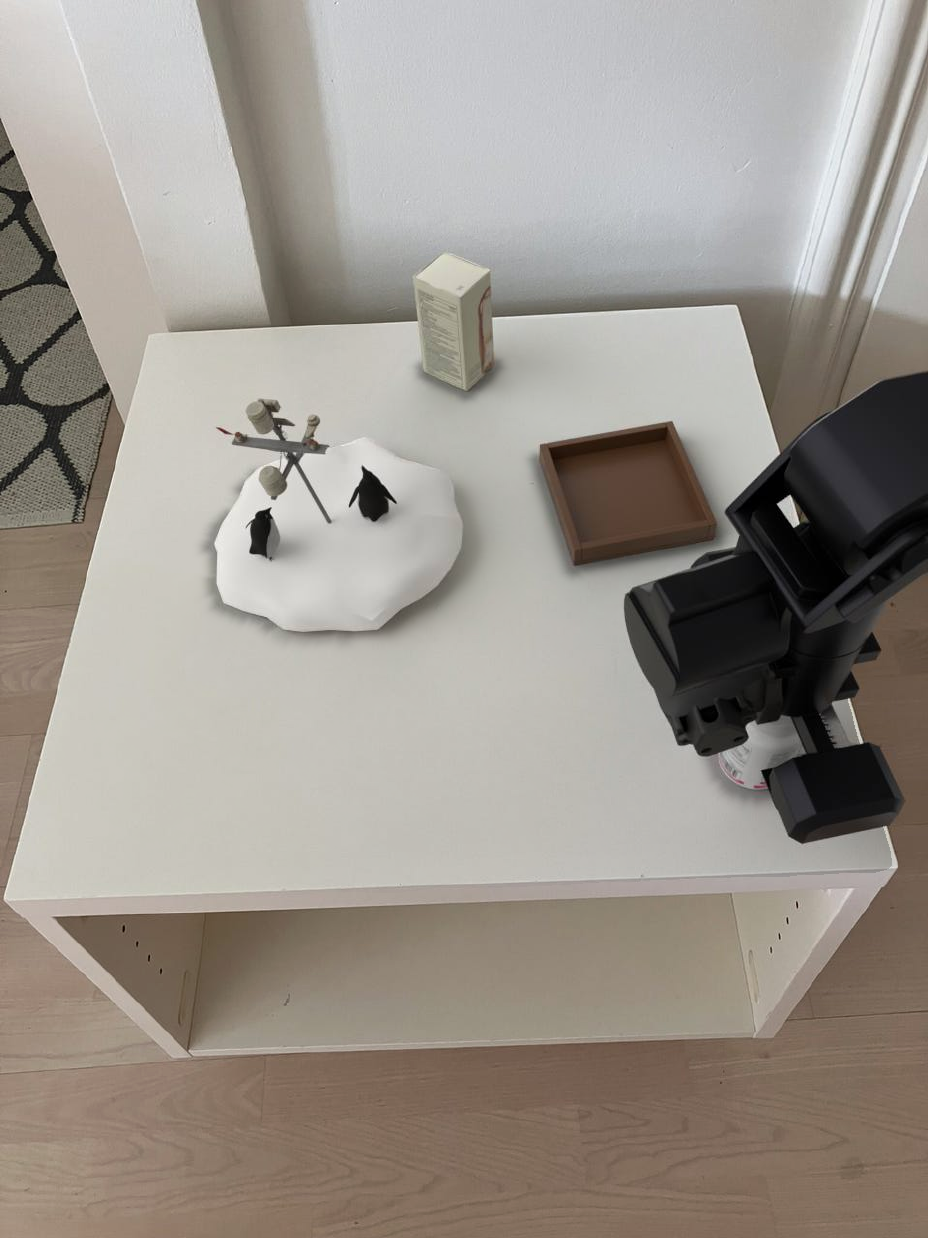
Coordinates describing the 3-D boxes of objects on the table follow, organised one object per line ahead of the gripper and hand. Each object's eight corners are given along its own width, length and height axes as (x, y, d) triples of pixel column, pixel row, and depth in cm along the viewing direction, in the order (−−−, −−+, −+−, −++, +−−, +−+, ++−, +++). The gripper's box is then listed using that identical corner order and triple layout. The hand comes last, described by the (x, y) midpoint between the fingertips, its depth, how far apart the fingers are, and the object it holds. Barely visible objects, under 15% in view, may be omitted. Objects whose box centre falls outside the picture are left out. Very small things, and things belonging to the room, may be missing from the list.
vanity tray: (669, 436, 85) (672, 420, 84) (713, 539, 79) (717, 524, 78) (539, 459, 84) (539, 443, 83) (573, 565, 78) (574, 550, 77)
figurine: (465, 442, 84) (432, 282, 71) (464, 629, 74) (425, 485, 61) (233, 464, 87) (158, 313, 73) (201, 647, 77) (108, 513, 63)
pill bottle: (792, 736, 70) (823, 673, 63) (784, 799, 67) (816, 740, 60) (721, 720, 70) (744, 657, 63) (711, 782, 68) (734, 722, 61)
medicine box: (496, 364, 91) (494, 270, 83) (466, 393, 89) (461, 299, 81) (450, 342, 93) (443, 247, 84) (420, 370, 91) (410, 276, 83)
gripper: (620, 507, 59) (601, 650, 72) (731, 803, 48) (685, 908, 61) (805, 473, 59) (753, 621, 72) (953, 757, 49) (861, 870, 62)
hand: (758, 745), depth 67 cm, fingers open, 8 cm apart
